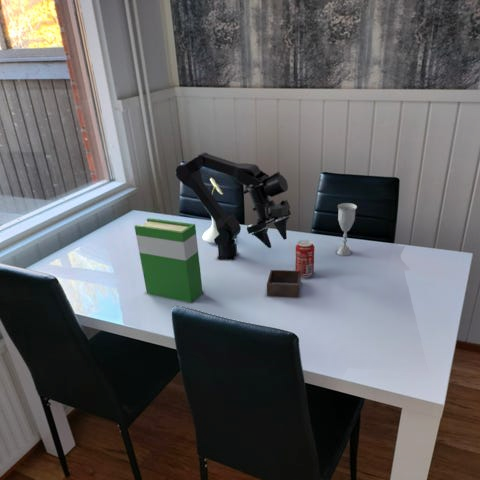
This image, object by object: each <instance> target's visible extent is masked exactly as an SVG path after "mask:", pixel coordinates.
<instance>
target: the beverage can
mask: <svg viewBox="0 0 480 480" xmlns="http://www.w3.org/2000/svg"><path fill="white" fill-rule="evenodd" d="M294 271H301V279H308V278H310V277H311V276H313V275H314V271H315V245H314V243H313V241H311V240H309V239H302V240H299V241H297V244H296V245H295V269H294Z"/></svg>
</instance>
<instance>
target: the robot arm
mask: <svg viewBox="0 0 480 480" xmlns="http://www.w3.org/2000/svg"><path fill="white" fill-rule="evenodd" d="M202 168H206V169H209V170H211V171H215V172H218V173H220V174H224V175H227V176H229V177H232V178H233V179H234V180H235V181H236V182H237V183H240V184H241V185H243V186H244V189H243V191H242V194H243V195H245V194H248V193H249V196H250V199H251V201H252V203H253V206H254V207H253V208H252V210H253V212H255V211H256V213H257V216H258V219H257V220H256V221H255V222H253V223H250V224H249V225H247V226H246V231H247V233H248V235H250V234H251V236H254V237H255V238H256V239H258V240H259V241H260V242H262V243H263V244H264V246H266V247H267V248H268V249H272V243H271V241H270V237H269V235H268V231H269V227H267V225H269V224H271V223H273V226H274V227H275V228H276V230H277V232H278V233H279V235H280V236H281V238H282V239H283V241H285V240H287V239H288V238H287V236H288V235H287V222H288V221H289V219H290V215H292V213H291V210H290V209H291V206H290V203H289V202H288V201H289V200H287V199H283V200H281V201H280V203H275V201H274V200H273V199H270V198H273V197H275V196H279V195H281V194H283V193H285V192H287V191H288V189H289V185H288V182H287V179H286V178H285V177H284V176H283V174H281V173H280V171H277V172H275V173H273V174H271V175H269V174H268V173H266V172H264V171H263V170H261V169H260V167H259V166H258V165H257V164H253V163H247V162H245V163H244V162H243V163H238V162H234V161H230V160H228V159H225V158H222V157H219V156H216V155H212V154H209V153H208V152H205V151H204V152H201V153H199V154H198V155H196V156H195V157H194V158H193V159H191V160H189V161H186V162H184V163H182V164H180V165H177V167H176V169H175V176H176V178H177V179H178V180H179V182H180V183H181V184H183V186H185V187H187V188H188V189H190V190H192V192H193V193H194V195H195V196H196V198H197V199H198V200H199V202H200V203H201V204H202V206H203V207H204V208H205V210H206V212H207V213H208V214H209V215H210V217H211V216H212V217H211V219H212V218H213V219H214V221H215V223H216V228H217V231H218V233H219V235H218V236H217V237H216V238H215V239H214V241H215V243H214V244H215V245H216V246H217V253H218V255H217V260H232V261H233V260H235V259H236V257H237V255H238V244H237V243H236V239H237V237H238V235H239V234H240V233H241V229H242V227H241V225H240V224H241V222H240V221H239V220H238V219H237V217H236V216H235V215H234V214H231V215H229V214H227V213H226V212H225V211H224V209H223V207H222V206H221V205H220V203H219V202H218V201H217V199H216V198H215V196H214V195H213V194H212V191H210V190H209V189H208V187H207V185H206V184H205V183H204V181H203V177H202V172H201V169H202Z"/></svg>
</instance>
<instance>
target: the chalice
mask: <svg viewBox="0 0 480 480" xmlns="http://www.w3.org/2000/svg"><path fill="white" fill-rule="evenodd" d="M357 208H358V206H357V205H356V204H354V203H351V202H342V203H339V204H338V205H337V209H338V213H337V214H338V215H337V217H338V218H337V220H338V225H339V226H340V229H341V231H342V232H343V235H342V237H343V239H342V242H343V243H342V245H341V246H340V247H338V250H337V254H338V255H339V256H350V255H351V254H352V252H351V250H350V247H349V246H348V245H347V242H348V240H347V237H348V232H349V231H350V230H351V228H352V227H353V225H354V222H355V220H356V210H357Z"/></svg>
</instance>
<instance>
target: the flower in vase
mask: <svg viewBox="0 0 480 480" xmlns="http://www.w3.org/2000/svg"><path fill="white" fill-rule="evenodd" d="M209 181H210V182H211V185H212V186H213V189H212V191H211V194H212V195H213V193H214V190H216V191H217V192H218V193H219V194H220V195H224V192H223V189H221V188H220V185H219V184H218V183H217V182H216V180H215V179H214V178H213V177H210V178H209ZM210 217H211V226H210V228H208V229H207V230H206V231H204V233H203V235H202V238H201V239H202V240H203V241H204V242H205V243H208V244H215V241H214V239H215V238H216V237H217V236H218V235H219V233H218V231H217V228H216V223H215V221H214V219H213V218H212V216H211V215H210Z"/></svg>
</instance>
